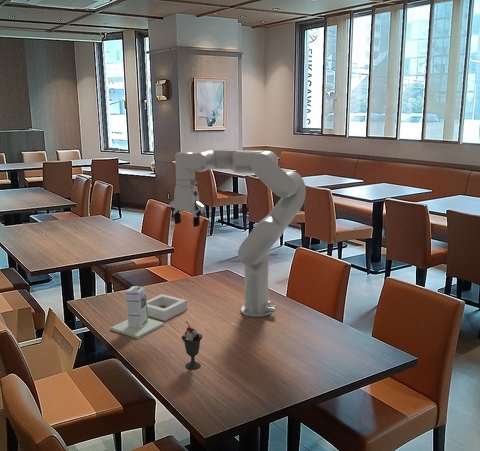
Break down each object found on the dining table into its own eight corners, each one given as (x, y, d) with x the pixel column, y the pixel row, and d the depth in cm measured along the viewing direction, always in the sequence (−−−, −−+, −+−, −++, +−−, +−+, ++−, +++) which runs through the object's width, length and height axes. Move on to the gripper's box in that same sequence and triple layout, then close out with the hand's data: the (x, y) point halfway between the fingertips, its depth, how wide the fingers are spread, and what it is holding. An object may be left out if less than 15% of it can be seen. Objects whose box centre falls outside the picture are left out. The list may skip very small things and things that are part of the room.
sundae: (182, 361, 170) (181, 318, 167) (203, 360, 171) (201, 317, 167) (182, 371, 164) (180, 327, 160) (203, 370, 164) (202, 326, 161)
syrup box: (142, 328, 193) (140, 291, 190) (127, 327, 194) (125, 290, 191) (148, 322, 198) (146, 286, 195) (133, 321, 200) (131, 285, 196)
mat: (164, 325, 198) (163, 322, 198) (138, 338, 187) (137, 336, 187) (137, 317, 206) (137, 314, 206) (110, 330, 194) (110, 327, 194)
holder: (187, 309, 213) (186, 300, 212) (165, 320, 202) (164, 311, 201) (162, 302, 220) (161, 293, 219) (139, 313, 209) (139, 304, 208)
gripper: (208, 183, 205) (209, 225, 209) (175, 180, 215) (176, 220, 219) (197, 186, 199) (198, 229, 203) (162, 182, 209) (164, 224, 212)
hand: (187, 224), depth 211 cm, fingers open, 9 cm apart
